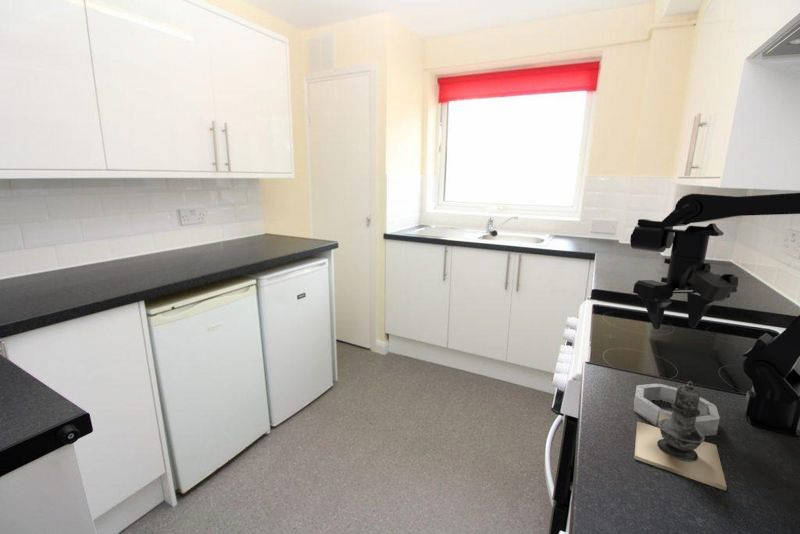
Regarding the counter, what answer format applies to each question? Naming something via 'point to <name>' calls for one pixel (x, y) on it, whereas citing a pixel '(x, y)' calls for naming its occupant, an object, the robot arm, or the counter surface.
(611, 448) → the counter surface
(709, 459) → the beige pad
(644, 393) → the white octagonal ring
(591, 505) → the counter surface
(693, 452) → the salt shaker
